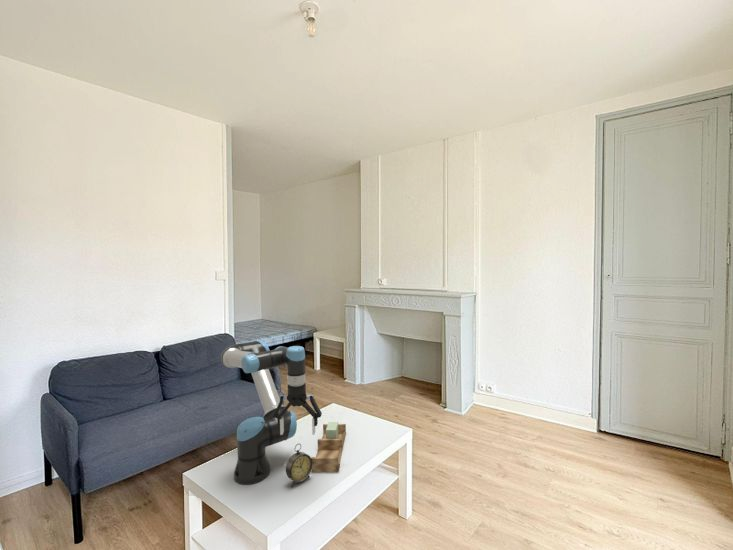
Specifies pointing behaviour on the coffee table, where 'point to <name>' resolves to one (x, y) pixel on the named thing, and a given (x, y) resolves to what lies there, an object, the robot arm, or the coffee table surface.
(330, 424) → the sage block
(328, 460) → the wooden rack
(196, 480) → the coffee table surface
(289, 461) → the alarm clock
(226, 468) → the coffee table surface
